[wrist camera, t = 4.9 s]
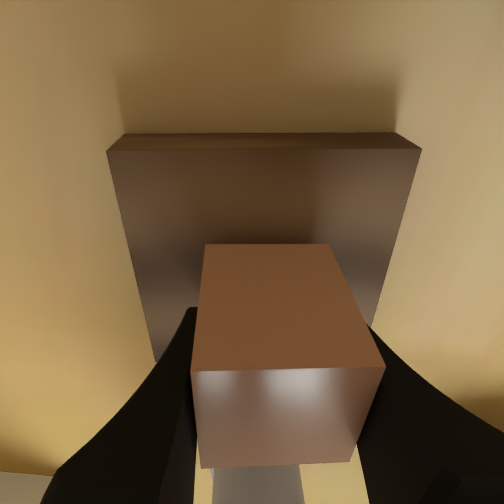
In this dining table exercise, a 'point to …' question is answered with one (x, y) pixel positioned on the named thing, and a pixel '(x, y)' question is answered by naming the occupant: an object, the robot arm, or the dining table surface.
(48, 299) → the dining table surface
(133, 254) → the walnut base slab
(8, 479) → the milk
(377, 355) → the terracotta block
